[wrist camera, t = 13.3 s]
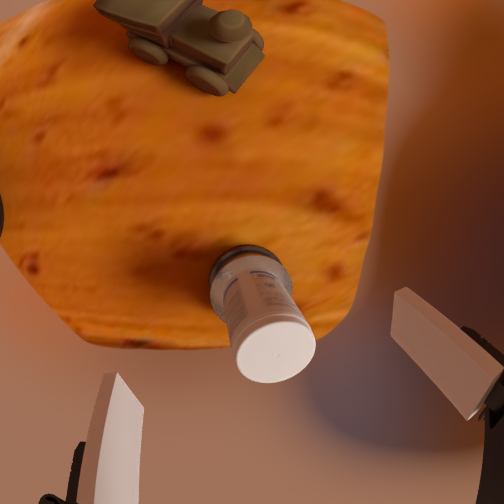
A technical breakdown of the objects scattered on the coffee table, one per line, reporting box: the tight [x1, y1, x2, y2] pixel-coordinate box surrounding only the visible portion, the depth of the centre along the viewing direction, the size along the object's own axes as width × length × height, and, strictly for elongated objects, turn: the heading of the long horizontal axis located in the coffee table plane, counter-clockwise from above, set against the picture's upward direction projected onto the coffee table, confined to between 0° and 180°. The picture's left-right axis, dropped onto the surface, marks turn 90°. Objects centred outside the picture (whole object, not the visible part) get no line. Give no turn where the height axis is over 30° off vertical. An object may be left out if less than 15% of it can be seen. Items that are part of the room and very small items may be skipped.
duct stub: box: [209, 245, 292, 323], centre depth 44 cm, size 13×13×5 cm
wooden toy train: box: [93, 0, 265, 96], centre depth 24 cm, size 20×11×17 cm, turn 56°
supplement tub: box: [223, 269, 316, 383], centre depth 35 cm, size 10×10×15 cm
